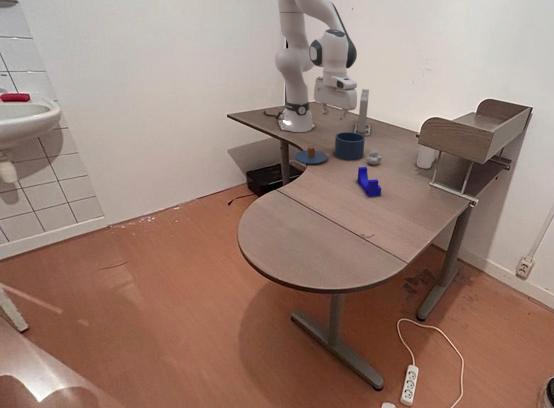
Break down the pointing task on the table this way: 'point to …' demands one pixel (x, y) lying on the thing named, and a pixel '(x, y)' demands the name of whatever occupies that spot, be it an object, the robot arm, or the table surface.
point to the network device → (363, 114)
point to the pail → (349, 146)
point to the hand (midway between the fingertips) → (334, 117)
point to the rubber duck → (373, 157)
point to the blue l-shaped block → (368, 183)
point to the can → (425, 157)
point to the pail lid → (311, 156)
